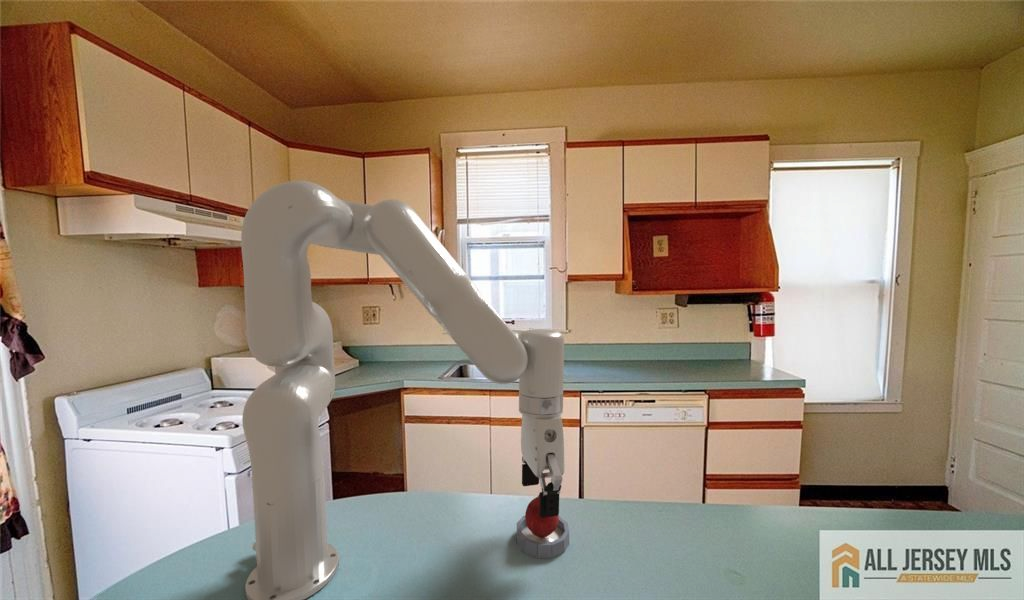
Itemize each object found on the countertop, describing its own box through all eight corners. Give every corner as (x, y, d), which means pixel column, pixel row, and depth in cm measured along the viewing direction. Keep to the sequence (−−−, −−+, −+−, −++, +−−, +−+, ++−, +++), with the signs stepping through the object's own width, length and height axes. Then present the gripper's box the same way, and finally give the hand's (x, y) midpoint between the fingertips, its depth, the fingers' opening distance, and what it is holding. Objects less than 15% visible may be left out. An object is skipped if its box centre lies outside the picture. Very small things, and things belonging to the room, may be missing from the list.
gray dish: (507, 546, 67) (507, 534, 67) (531, 518, 75) (531, 506, 75) (555, 565, 63) (555, 552, 63) (576, 532, 71) (576, 521, 70)
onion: (557, 550, 65) (557, 504, 65) (523, 546, 66) (522, 500, 66) (559, 528, 71) (559, 485, 70) (528, 524, 72) (527, 482, 71)
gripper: (583, 418, 60) (580, 526, 61) (544, 387, 77) (542, 472, 78) (536, 422, 58) (534, 534, 59) (506, 389, 75) (505, 477, 76)
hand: (539, 499), depth 68 cm, fingers open, 9 cm apart
